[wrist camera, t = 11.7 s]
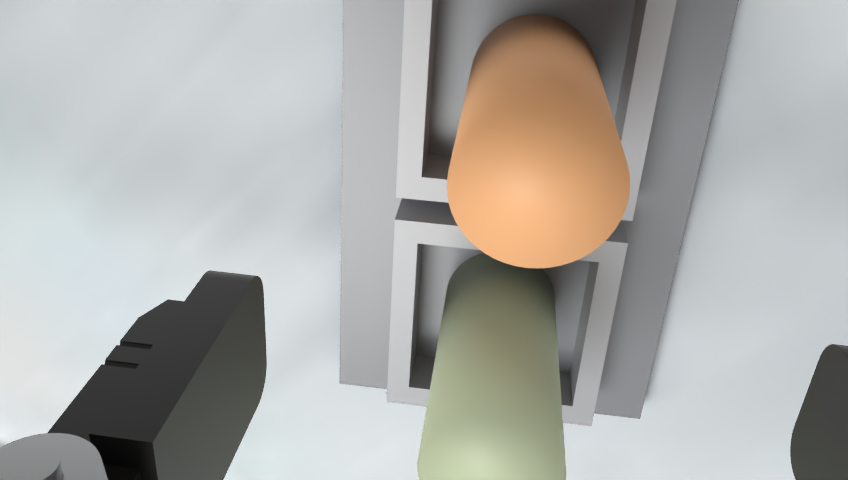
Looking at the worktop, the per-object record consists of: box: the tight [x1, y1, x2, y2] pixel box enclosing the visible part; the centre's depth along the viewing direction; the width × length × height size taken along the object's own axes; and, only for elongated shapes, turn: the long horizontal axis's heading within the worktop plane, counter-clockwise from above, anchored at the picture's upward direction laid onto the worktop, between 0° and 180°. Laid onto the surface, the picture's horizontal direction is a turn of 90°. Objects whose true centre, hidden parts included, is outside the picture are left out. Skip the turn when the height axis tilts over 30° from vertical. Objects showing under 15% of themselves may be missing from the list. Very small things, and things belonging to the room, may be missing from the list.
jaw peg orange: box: [447, 14, 630, 268], centre depth 21 cm, size 4×4×9 cm
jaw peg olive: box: [417, 253, 566, 480], centre depth 25 cm, size 4×4×9 cm
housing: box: [340, 0, 739, 426], centre depth 27 cm, size 18×12×3 cm, turn 176°
